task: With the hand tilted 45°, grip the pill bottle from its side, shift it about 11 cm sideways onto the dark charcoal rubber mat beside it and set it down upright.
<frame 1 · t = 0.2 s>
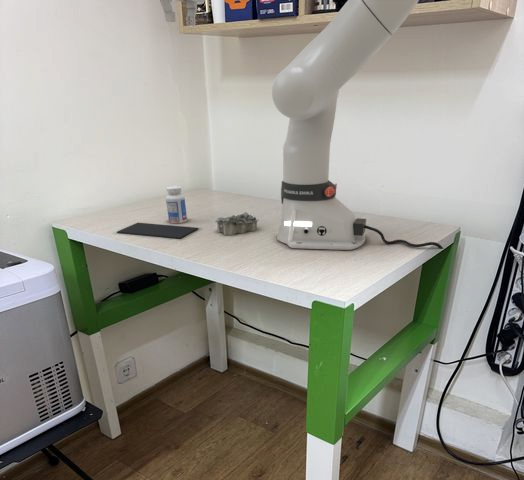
hand: (181, 23, 111), 48 cm above the table, tool pointing down, fingers open, 8 cm apart
pill bottle: (177, 222, 142), on the table
egg carton: (237, 230, 132), on the table
mat: (158, 231, 133), on the table
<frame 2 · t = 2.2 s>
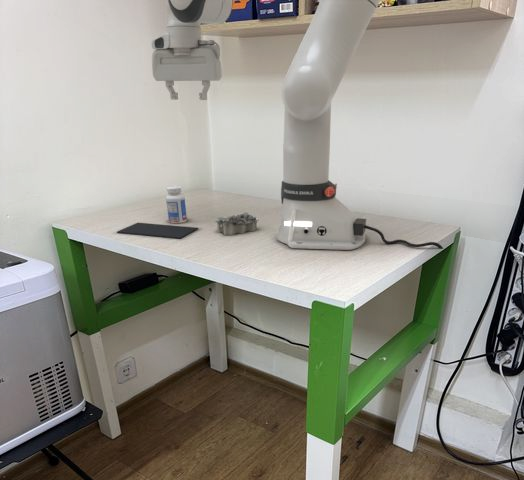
hand: (188, 99, 134), 32 cm above the table, tool pointing down, fingers open, 8 cm apart
nothing on the table moved.
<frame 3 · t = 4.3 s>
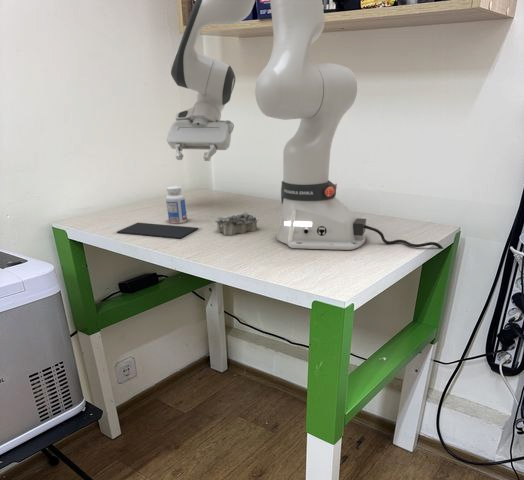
hand: (192, 159, 144), 16 cm above the table, tool tilted 45°, fingers open, 8 cm apart
nothing on the table moved.
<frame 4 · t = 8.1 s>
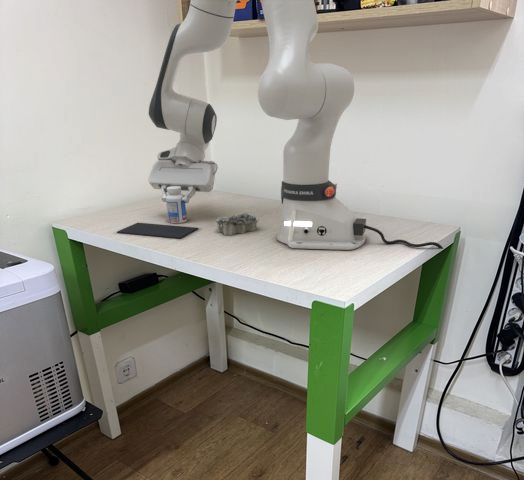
hand: (174, 201, 139), 6 cm above the table, tool tilted 45°, fingers closed on pill bottle, 5 cm apart
pill bottle: (178, 221, 142), on the table, touching gripper
everything else where it was.
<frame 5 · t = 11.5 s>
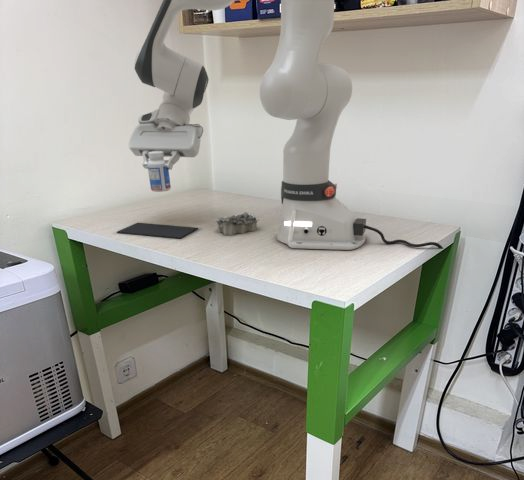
hand: (156, 167, 128), 16 cm above the table, tool tilted 45°, fingers closed on pill bottle, 5 cm apart
pill bottle: (160, 190, 131), point 10 cm above the table, touching gripper
everything else where it was.
when the fingers open (6 cm above the table, at t = 15.2 s): pill bottle stays where it is, resting on mat.
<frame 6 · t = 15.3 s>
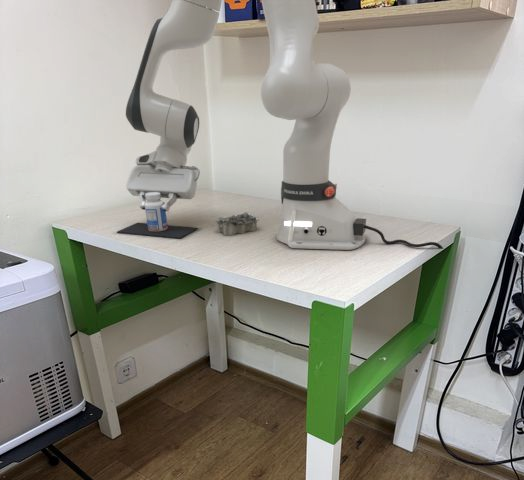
hand: (153, 209, 130), 6 cm above the table, tool tilted 45°, fingers open, 5 cm apart
pill bottle: (158, 230, 133), resting on mat
everything else where it was.
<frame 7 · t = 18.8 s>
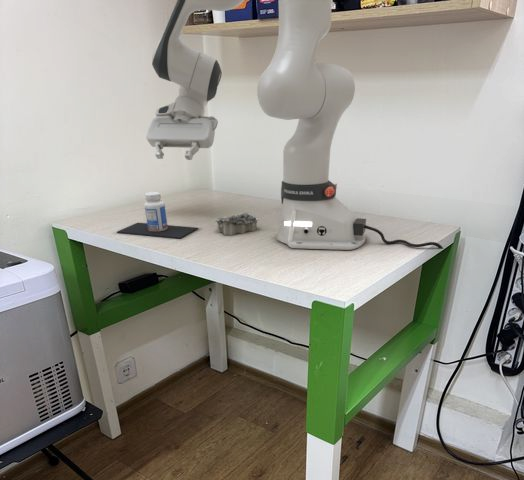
hand: (173, 157, 134), 17 cm above the table, tool tilted 45°, fingers open, 8 cm apart
nothing on the table moved.
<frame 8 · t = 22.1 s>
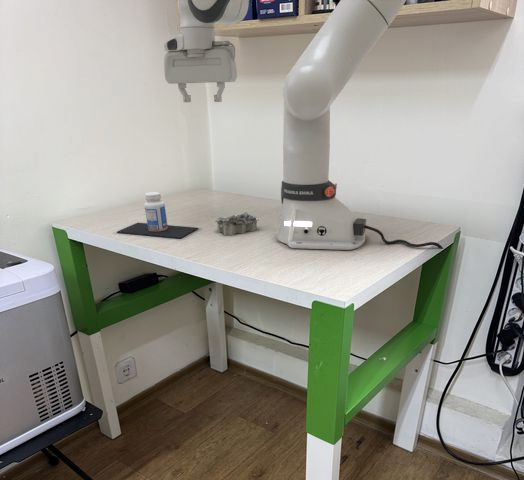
hand: (202, 102, 131), 31 cm above the table, tool pointing down, fingers open, 8 cm apart
nothing on the table moved.
at the end: pill bottle inside the target area on the mat (0.1 cm from its centre), point 0.2 cm above the mat's base; pill bottle tilted 0°; the gripper is holding nothing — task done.
